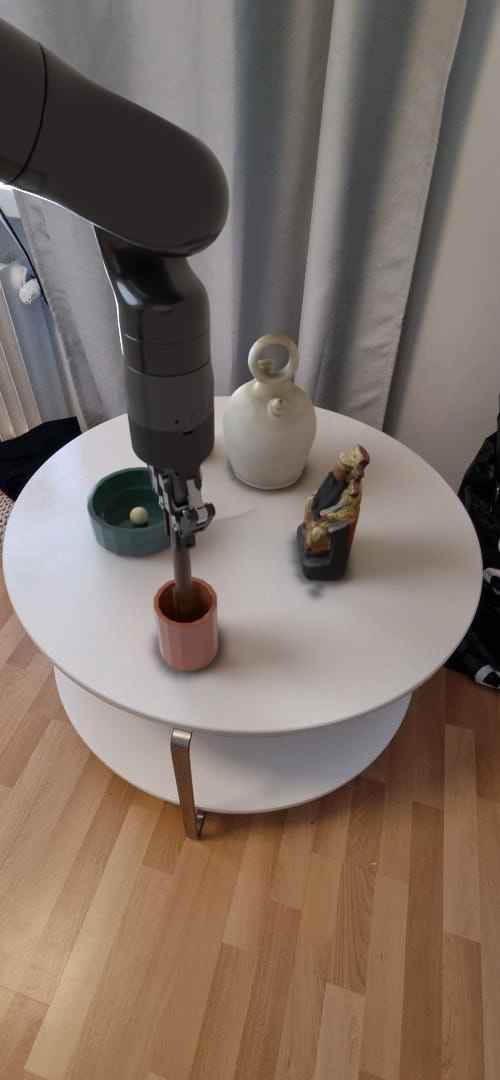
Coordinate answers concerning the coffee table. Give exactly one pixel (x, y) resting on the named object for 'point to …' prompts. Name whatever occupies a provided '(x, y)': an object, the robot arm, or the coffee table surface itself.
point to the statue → (332, 519)
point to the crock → (187, 628)
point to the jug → (269, 421)
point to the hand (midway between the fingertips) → (180, 539)
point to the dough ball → (139, 516)
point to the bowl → (127, 514)
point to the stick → (182, 581)
